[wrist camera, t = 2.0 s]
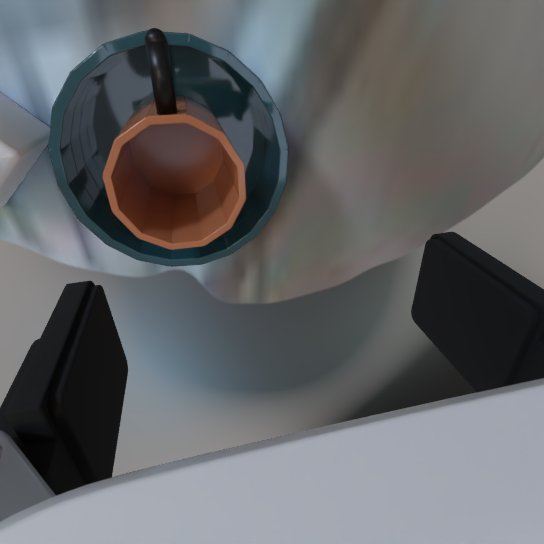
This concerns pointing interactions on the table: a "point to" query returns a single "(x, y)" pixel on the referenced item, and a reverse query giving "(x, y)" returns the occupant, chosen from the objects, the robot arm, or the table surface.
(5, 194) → the medicine bottle
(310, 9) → the table surface
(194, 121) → the orange mug
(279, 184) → the dark teal bowl
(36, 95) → the table surface
